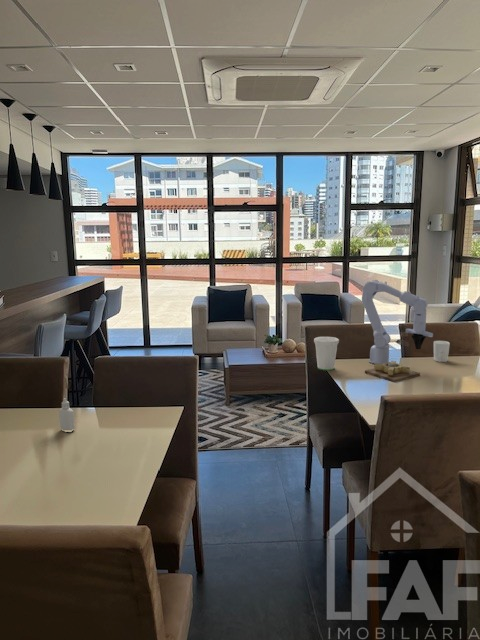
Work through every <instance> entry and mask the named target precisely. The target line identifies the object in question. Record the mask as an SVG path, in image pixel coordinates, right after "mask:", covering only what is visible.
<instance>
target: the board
mask: <svg viewBox="0 0 480 640" xmlns="http://www.w3.org/2000/svg"><path fill="white" fill-rule="evenodd" d="M388 366H389V367H397V365H396V364H388ZM364 374H368V375H371V376H373V377H377V378H381V379H383V380H387V381H390V382H392V383H396V382H400V381H404V380H407V379H412V378H415V377H419V376H420V375H421V374H420V372H418V371H417V372H416V371H413V370H410V372H409V373H403V372H402V373H398V374H393V376H392V375H388V373H386V372H383V371H382V370H375V367H374V368H370V369H366V370H364Z"/></svg>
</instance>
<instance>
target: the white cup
mask: <svg viewBox="0 0 480 640" xmlns="http://www.w3.org/2000/svg"><path fill="white" fill-rule="evenodd" d="M450 344H451V343H450V342H449V341H446V340H434V341H433V361H434V362H438V363H439V362H440V363H447V362H448V361H449V360H448V358H449V353H450Z"/></svg>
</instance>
